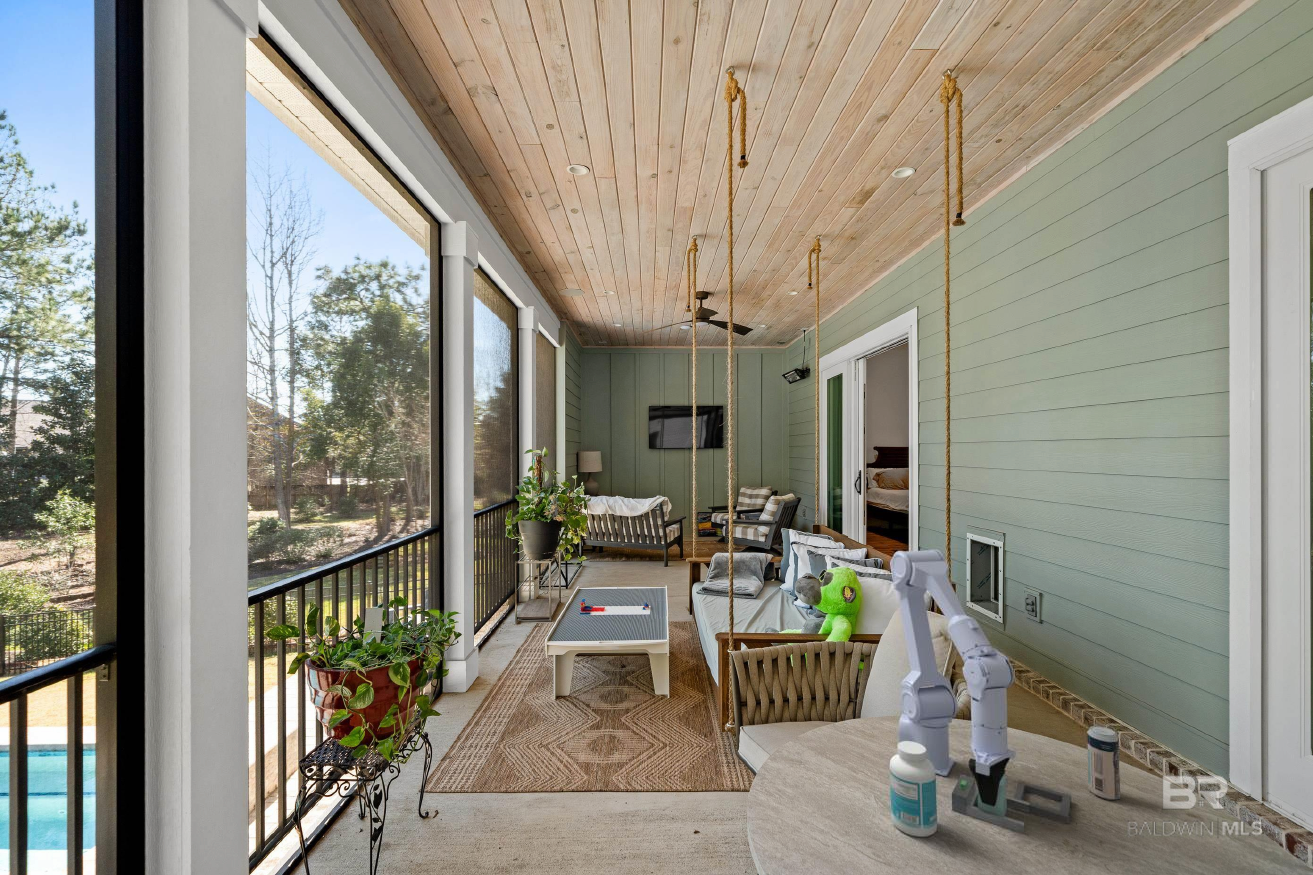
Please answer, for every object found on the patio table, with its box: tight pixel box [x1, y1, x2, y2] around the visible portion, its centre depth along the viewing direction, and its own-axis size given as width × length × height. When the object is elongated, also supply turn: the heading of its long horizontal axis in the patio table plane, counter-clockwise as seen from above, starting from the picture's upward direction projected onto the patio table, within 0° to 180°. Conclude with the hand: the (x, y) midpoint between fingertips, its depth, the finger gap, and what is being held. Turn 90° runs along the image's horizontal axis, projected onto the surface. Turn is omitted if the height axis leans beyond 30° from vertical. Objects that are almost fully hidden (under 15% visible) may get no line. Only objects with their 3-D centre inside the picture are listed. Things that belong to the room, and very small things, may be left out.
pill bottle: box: [889, 741, 938, 838], centre depth 103 cm, size 8×7×14 cm
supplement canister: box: [1086, 725, 1121, 801], centre depth 113 cm, size 5×5×12 cm
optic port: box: [951, 773, 1031, 835], centre depth 107 cm, size 11×8×4 cm
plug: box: [976, 774, 1008, 817], centre depth 107 cm, size 4×4×7 cm
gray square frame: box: [1012, 779, 1072, 825], centre depth 109 cm, size 8×8×1 cm
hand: (990, 797), depth 107 cm, fingers closed on plug, 4 cm apart
